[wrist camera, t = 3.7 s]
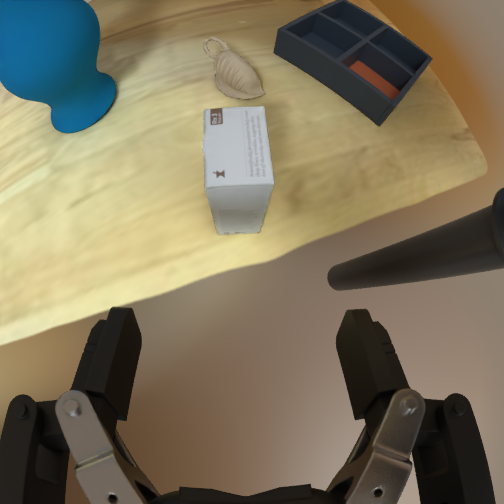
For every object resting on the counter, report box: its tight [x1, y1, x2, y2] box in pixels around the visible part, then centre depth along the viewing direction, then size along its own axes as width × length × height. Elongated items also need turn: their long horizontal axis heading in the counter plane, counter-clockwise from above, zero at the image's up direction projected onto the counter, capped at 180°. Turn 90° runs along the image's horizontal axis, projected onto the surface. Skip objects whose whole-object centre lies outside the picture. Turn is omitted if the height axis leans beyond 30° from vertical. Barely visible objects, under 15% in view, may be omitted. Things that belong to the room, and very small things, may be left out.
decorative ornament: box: [203, 37, 265, 99], centre depth 29 cm, size 4×8×5 cm, turn 36°
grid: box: [274, 0, 432, 126], centre depth 31 cm, size 17×17×5 cm
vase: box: [0, 0, 116, 133], centre depth 16 cm, size 12×13×28 cm
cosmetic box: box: [203, 106, 275, 235], centre depth 23 cm, size 6×4×12 cm
